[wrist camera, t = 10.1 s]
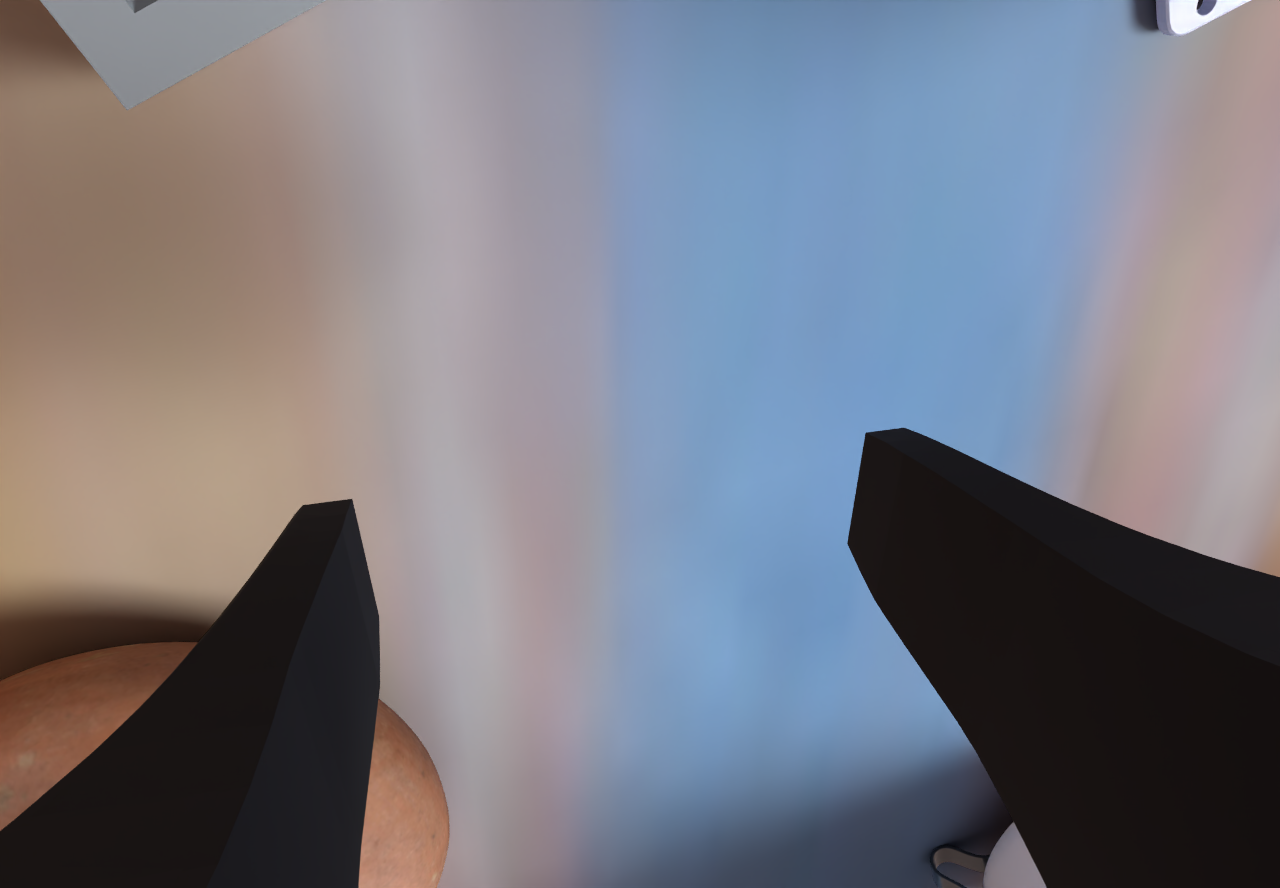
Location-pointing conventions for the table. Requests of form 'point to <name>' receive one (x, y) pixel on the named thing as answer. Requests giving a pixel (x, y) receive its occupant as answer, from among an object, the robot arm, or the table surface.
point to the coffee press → (992, 864)
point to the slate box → (164, 36)
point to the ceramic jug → (128, 675)
